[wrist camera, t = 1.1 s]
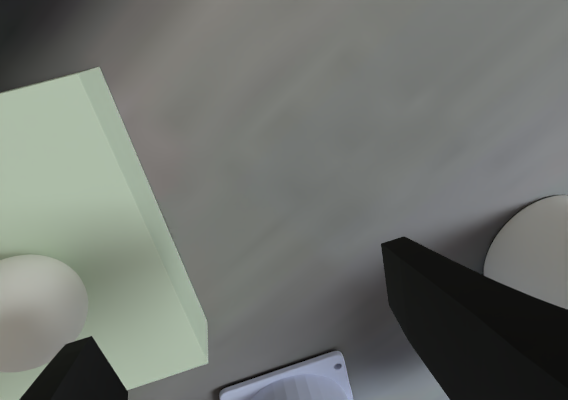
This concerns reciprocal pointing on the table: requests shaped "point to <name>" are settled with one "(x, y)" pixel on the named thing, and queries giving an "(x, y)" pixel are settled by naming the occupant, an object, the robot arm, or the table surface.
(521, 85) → the table surface
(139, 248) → the putting board
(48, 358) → the ball
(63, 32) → the table surface
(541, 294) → the candle holder
